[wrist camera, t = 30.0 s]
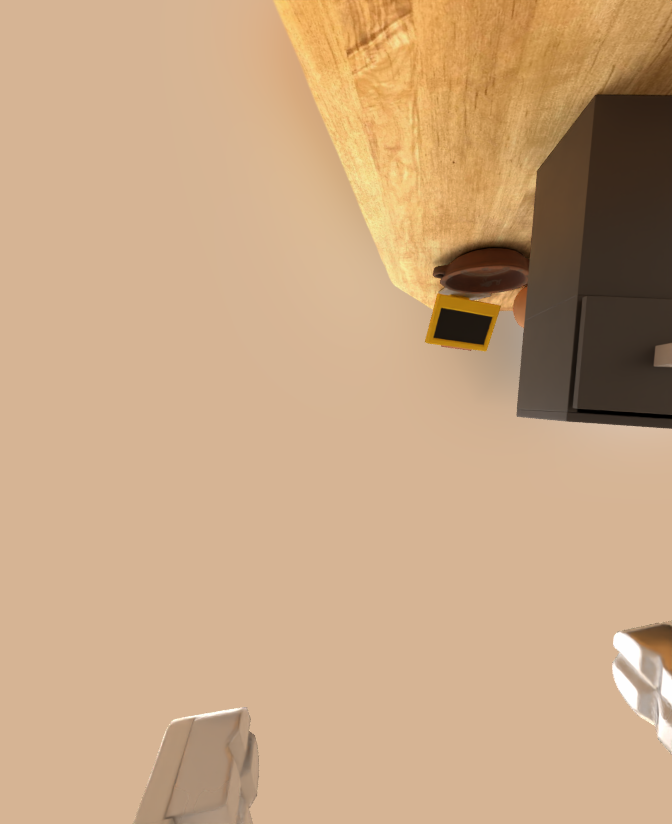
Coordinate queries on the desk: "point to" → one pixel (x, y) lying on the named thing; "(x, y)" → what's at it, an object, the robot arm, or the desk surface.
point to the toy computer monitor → (462, 321)
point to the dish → (485, 271)
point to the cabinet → (596, 243)
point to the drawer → (624, 355)
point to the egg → (520, 306)
